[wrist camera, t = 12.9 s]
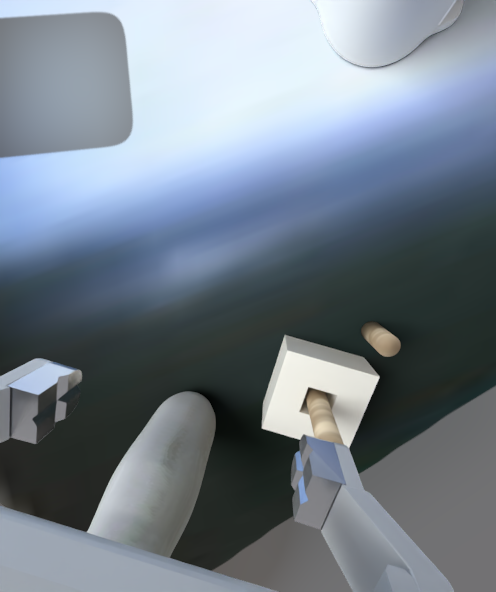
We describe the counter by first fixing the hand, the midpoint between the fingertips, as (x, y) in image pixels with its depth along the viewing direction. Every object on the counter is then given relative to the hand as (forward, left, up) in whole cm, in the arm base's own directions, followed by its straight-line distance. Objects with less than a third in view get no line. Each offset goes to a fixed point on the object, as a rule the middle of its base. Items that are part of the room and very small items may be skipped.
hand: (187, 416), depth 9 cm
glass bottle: (+24, -4, -32) cm, 40 cm away
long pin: (+13, +14, -31) cm, 37 cm away
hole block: (+13, +14, -31) cm, 37 cm away
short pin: (+2, +20, -31) cm, 37 cm away
